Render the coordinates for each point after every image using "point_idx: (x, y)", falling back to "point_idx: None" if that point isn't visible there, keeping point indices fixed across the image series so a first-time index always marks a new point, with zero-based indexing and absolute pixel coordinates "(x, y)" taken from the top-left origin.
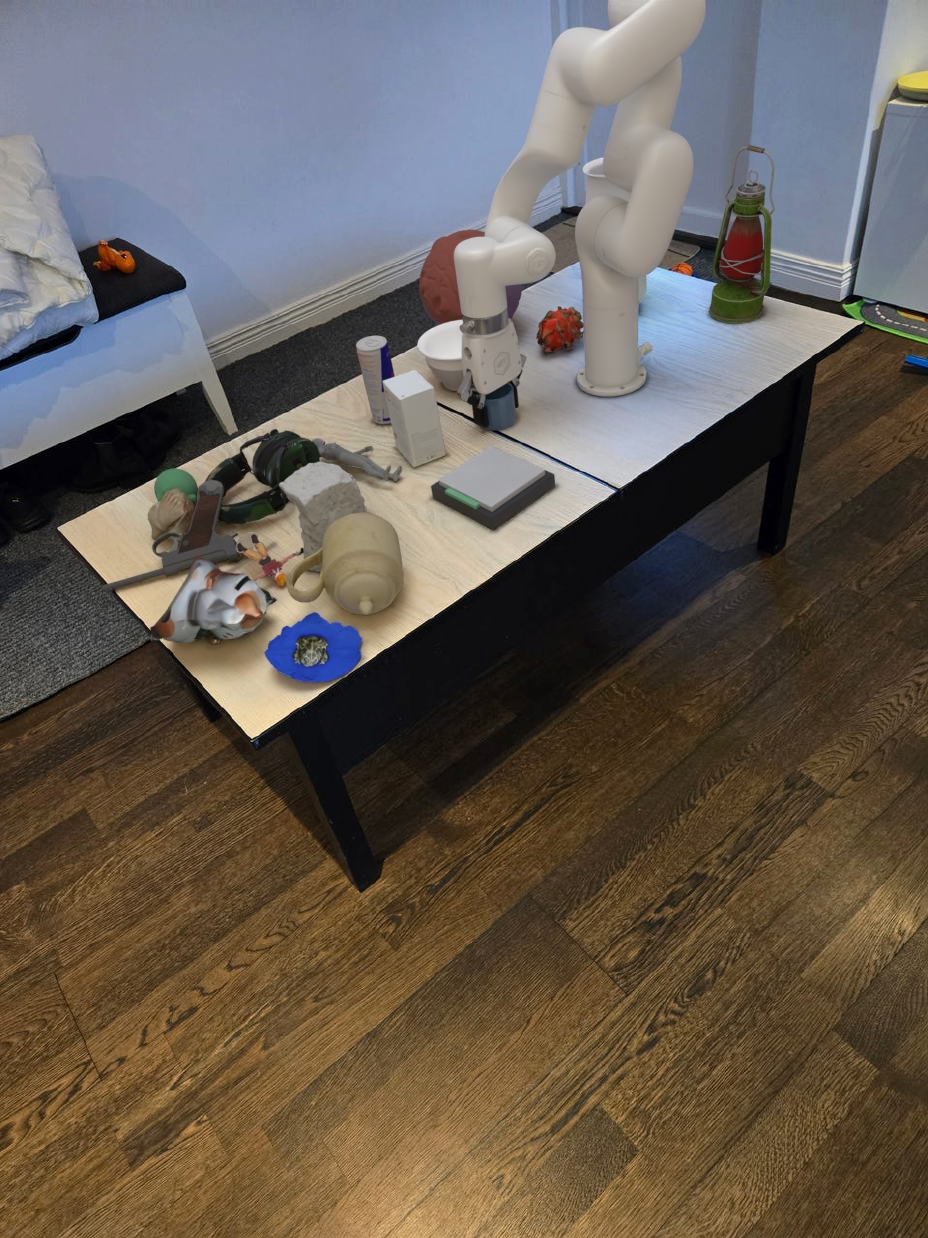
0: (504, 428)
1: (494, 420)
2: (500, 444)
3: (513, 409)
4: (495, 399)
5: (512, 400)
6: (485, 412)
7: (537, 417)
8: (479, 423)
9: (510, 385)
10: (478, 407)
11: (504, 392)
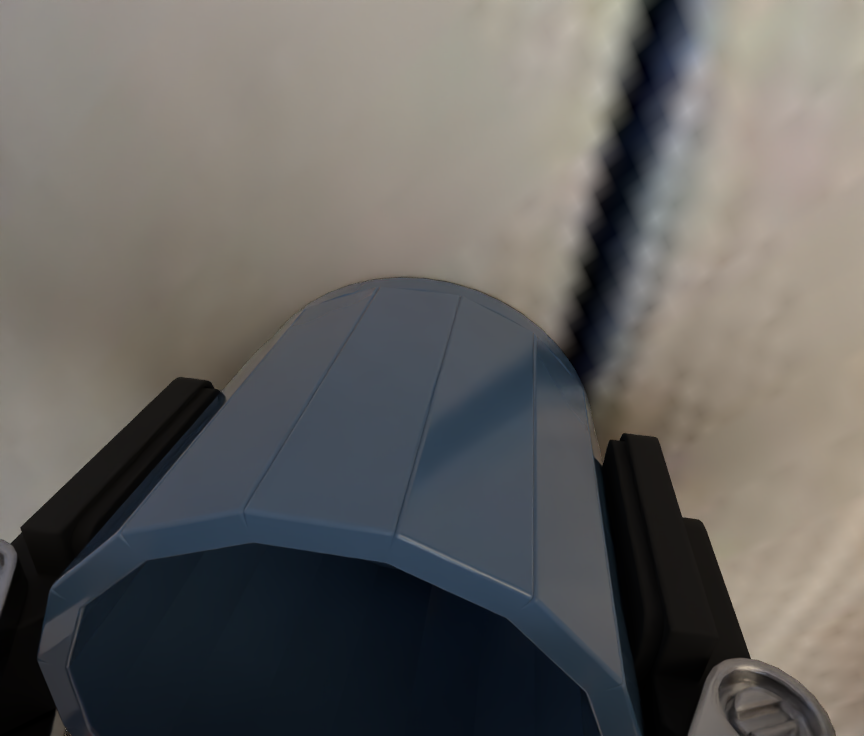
0: (502, 303)
1: (575, 421)
2: (803, 142)
3: (309, 349)
4: (549, 629)
5: (258, 421)
6: (692, 569)
7: (143, 134)
8: (698, 520)
9: (72, 627)
10: (814, 715)
11: (179, 595)
